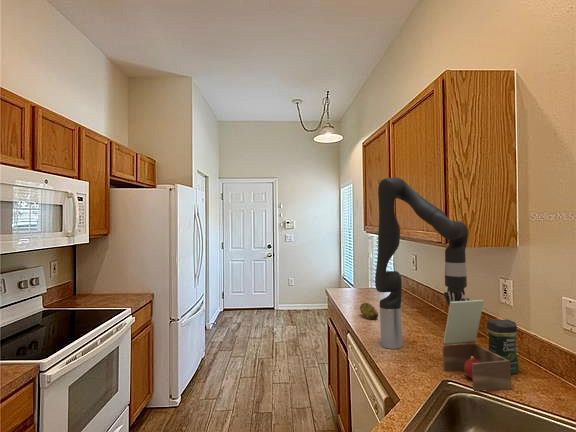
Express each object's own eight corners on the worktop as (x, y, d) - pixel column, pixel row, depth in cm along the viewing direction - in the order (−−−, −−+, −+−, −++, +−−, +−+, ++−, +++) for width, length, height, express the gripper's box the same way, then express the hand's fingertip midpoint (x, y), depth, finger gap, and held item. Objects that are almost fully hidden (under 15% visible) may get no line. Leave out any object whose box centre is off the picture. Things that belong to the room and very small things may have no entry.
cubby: (443, 370, 134) (442, 345, 134) (475, 367, 136) (474, 343, 136) (475, 392, 116) (473, 364, 116) (511, 388, 118) (510, 361, 118)
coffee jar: (498, 376, 128) (496, 323, 128) (483, 367, 135) (482, 317, 136) (523, 374, 129) (521, 322, 129) (508, 365, 136) (506, 316, 137)
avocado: (365, 321, 203) (364, 306, 203) (358, 315, 215) (358, 301, 216) (379, 320, 203) (379, 306, 203) (372, 314, 216) (372, 301, 216)
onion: (477, 375, 129) (476, 352, 129) (486, 382, 123) (485, 358, 123) (461, 376, 129) (460, 353, 129) (470, 383, 123) (469, 359, 123)
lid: (444, 345, 134) (442, 343, 134) (475, 343, 135) (473, 341, 136) (451, 303, 128) (450, 301, 129) (484, 301, 130) (482, 299, 131)
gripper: (476, 276, 130) (477, 324, 130) (454, 271, 143) (455, 314, 143) (456, 277, 129) (458, 325, 129) (436, 271, 142) (437, 315, 142)
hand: (456, 319), depth 136 cm, fingers closed
